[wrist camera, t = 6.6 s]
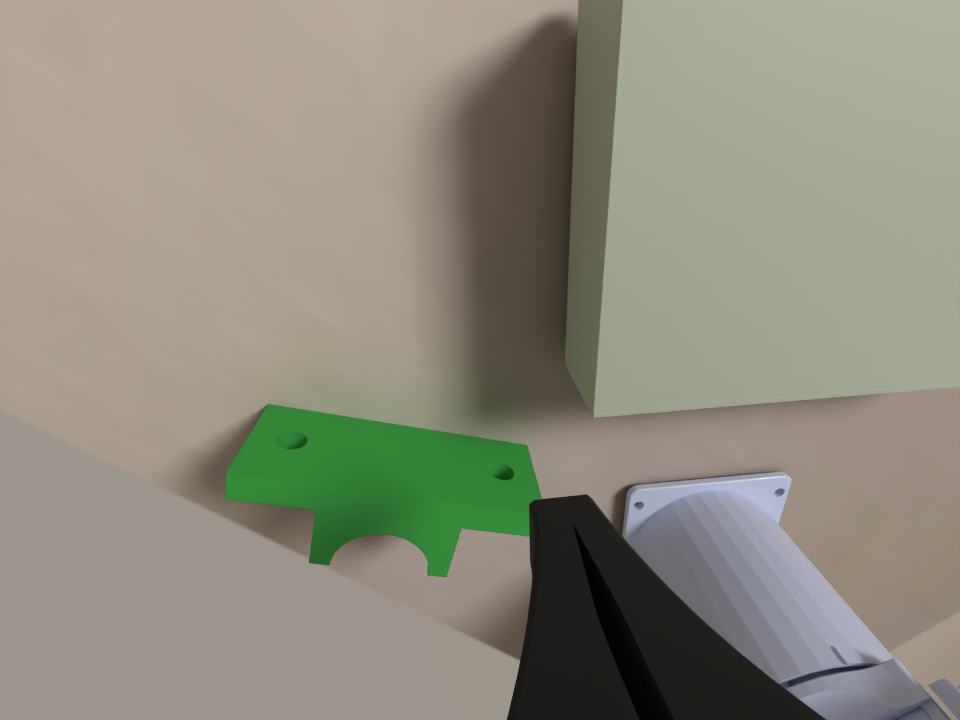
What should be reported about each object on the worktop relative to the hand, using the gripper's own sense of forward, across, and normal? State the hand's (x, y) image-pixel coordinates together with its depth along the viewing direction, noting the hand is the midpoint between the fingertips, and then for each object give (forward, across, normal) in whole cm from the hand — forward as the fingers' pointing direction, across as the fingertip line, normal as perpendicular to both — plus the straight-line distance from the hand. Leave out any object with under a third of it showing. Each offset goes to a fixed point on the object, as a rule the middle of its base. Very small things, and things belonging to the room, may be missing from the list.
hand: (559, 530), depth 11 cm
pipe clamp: (+10, +5, +4) cm, 12 cm away
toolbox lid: (+9, -12, -6) cm, 16 cm away
